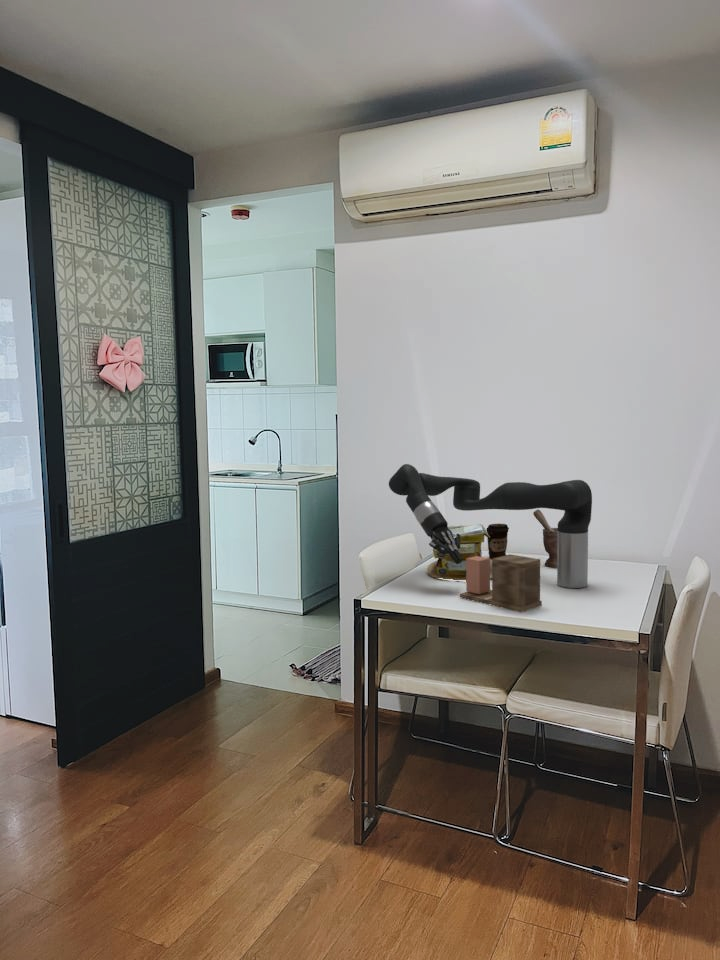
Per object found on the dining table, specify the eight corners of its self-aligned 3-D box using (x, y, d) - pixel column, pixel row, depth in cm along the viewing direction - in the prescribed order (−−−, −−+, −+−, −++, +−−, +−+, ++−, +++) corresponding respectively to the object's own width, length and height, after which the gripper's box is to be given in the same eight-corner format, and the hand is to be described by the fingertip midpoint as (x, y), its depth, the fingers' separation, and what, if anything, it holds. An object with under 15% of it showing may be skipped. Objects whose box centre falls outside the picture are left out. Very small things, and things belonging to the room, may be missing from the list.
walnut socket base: (459, 597, 218) (459, 553, 217) (480, 591, 224) (480, 548, 223) (520, 612, 202) (520, 564, 200) (541, 605, 208) (541, 558, 207)
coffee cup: (513, 560, 268) (513, 525, 266) (491, 562, 266) (491, 527, 265) (503, 556, 276) (503, 522, 275) (482, 557, 274) (482, 523, 273)
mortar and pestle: (537, 568, 254) (537, 512, 252) (531, 563, 262) (531, 508, 260) (570, 568, 254) (570, 511, 252) (564, 562, 262) (564, 508, 260)
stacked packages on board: (491, 585, 233) (491, 533, 231) (417, 579, 242) (417, 529, 241) (507, 568, 255) (507, 521, 254) (439, 564, 265) (438, 518, 263)
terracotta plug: (466, 591, 219) (466, 558, 218) (476, 588, 222) (476, 556, 221) (479, 594, 215) (479, 560, 214) (490, 591, 219) (489, 558, 218)
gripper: (438, 523, 237) (467, 566, 229) (409, 528, 228) (439, 573, 221) (450, 508, 233) (480, 551, 225) (421, 513, 224) (452, 558, 216)
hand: (460, 562), depth 223 cm, fingers closed
